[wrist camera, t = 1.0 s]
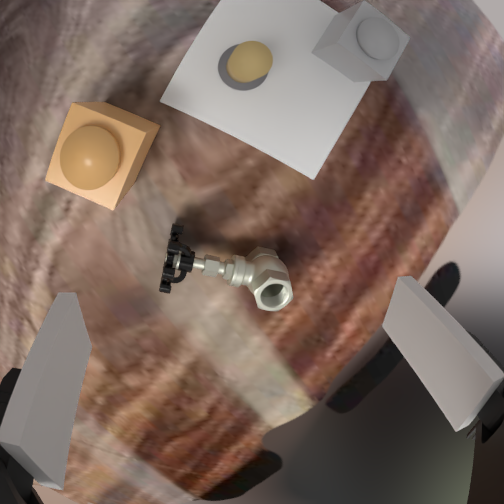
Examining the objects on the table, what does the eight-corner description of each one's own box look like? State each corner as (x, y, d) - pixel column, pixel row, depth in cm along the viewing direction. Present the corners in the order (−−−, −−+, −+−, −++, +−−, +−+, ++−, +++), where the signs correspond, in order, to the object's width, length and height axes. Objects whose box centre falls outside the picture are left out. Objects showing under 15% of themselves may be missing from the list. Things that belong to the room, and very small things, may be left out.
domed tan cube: (80, 160, 26) (40, 183, 19) (104, 101, 24) (67, 102, 17) (134, 183, 28) (110, 214, 21) (160, 125, 26) (144, 133, 19)
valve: (289, 237, 34) (175, 211, 30) (308, 268, 28) (169, 238, 25) (269, 290, 36) (162, 269, 33) (283, 327, 30) (156, 306, 27)
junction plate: (160, 101, 25) (150, 100, 20) (247, -34, 20) (258, -61, 15) (310, 177, 31) (333, 194, 25) (383, 51, 26) (417, 46, 20)
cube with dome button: (311, 52, 24) (340, 41, 19) (334, 15, 23) (367, -2, 17) (354, 82, 26) (390, 80, 20) (375, 45, 24) (414, 37, 19)
